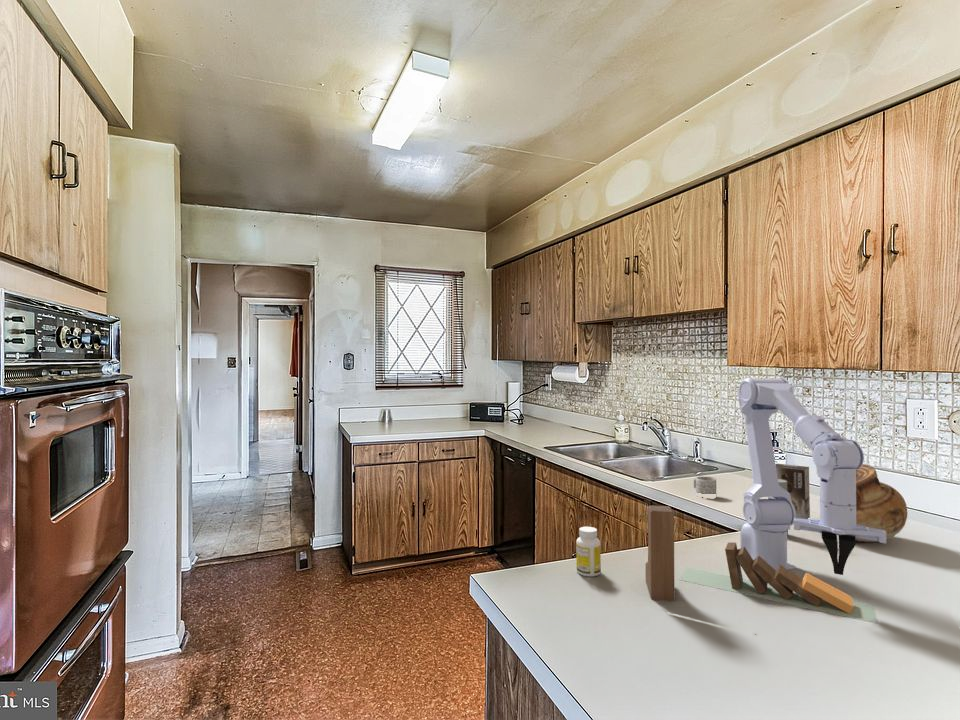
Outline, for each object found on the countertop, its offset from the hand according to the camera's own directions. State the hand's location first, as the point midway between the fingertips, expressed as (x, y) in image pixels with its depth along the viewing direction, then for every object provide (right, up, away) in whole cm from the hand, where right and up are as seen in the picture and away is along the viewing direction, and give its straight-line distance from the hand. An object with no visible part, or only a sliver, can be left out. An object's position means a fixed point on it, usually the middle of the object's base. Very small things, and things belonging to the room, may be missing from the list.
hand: (838, 572), depth 97 cm
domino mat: (-10, -7, +6) cm, 13 cm away
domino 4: (-3, -6, +2) cm, 7 cm away
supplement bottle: (-45, -7, +17) cm, 48 cm away
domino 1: (-15, -7, +9) cm, 19 cm away
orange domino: (+2, -6, -1) cm, 6 cm away
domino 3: (-7, -6, +4) cm, 10 cm away
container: (+14, -8, +43) cm, 46 cm away
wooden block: (-32, -7, +7) cm, 34 cm away
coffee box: (+26, -8, +57) cm, 64 cm away
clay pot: (+35, -8, +39) cm, 53 cm away
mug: (+12, -8, +85) cm, 86 cm away
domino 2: (-11, -6, +7) cm, 14 cm away
